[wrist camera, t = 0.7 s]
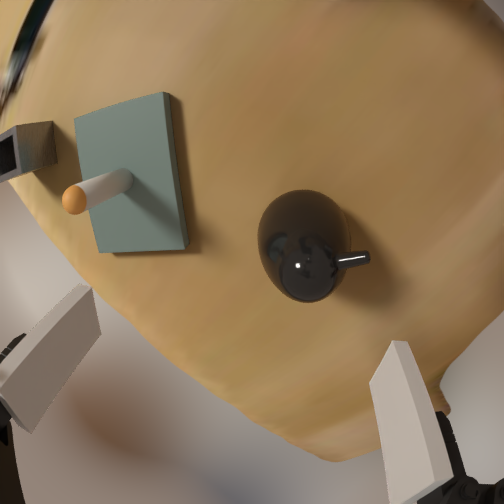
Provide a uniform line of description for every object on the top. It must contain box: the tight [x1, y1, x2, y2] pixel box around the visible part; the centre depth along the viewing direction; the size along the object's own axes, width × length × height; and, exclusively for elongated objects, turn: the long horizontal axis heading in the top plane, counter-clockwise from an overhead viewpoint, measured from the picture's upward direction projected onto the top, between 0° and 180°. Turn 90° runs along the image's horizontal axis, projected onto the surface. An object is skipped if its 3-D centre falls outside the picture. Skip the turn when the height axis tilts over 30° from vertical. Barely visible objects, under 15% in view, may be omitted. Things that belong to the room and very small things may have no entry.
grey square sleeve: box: [0, 121, 57, 183], centre depth 31 cm, size 7×7×8 cm
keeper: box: [62, 92, 189, 253], centre depth 30 cm, size 20×14×14 cm
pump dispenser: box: [258, 190, 371, 303], centre depth 29 cm, size 10×10×15 cm
